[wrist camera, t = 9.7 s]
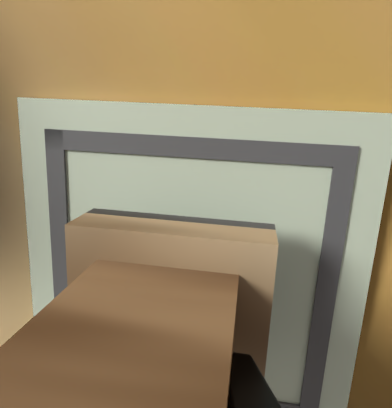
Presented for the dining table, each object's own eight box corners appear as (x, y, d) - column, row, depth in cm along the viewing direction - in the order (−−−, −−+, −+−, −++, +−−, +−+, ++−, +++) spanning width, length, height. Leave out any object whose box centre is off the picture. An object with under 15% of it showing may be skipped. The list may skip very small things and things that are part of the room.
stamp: (258, 385, 11) (263, 790, 4) (97, 361, 11) (-104, 676, 5) (274, 223, 9) (317, 451, 3) (93, 208, 10) (-182, 364, 4)
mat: (336, 435, 13) (340, 451, 12) (46, 387, 14) (38, 399, 14) (392, 114, 10) (401, 113, 9) (27, 98, 11) (15, 97, 11)
